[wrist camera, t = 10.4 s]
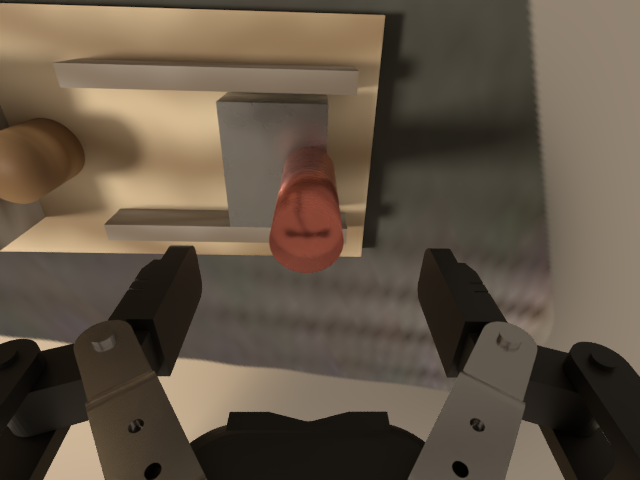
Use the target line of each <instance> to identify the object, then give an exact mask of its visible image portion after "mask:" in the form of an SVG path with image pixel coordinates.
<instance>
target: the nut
mask: <svg viewBox="0 0 640 480" xmlns="http://www.w3.org/2000/svg"><path fill="white" fill-rule="evenodd" d="M84 163H85V154H84V150H83V147H82V145H81V143H80V141H79V140H78V138H77V137H76V136H75V135H74V134H73V133H72V132H71V131H70V130H69V129H68V128H67V127H65V126H64V125H62V124H61V123H59V122H56V121H54V120H51V119H47V118H34V119H31V120H28V121H25V122H22V123H19V124H17V125H14V126H11V127H8V128H5V129H2V130H0V198H1V199H4V200H6V201H9V202H13V203H18V204H28V203H32V202H35V201H37V200H39V199H40V198H42V197H43V196H45V195H47V194H48V193H50V192H51V191H53V190H54V189H56V188H57V187H59V186H60V185H62V184H63V183H65V182H66V181H68V180H69V179H71V178H73V177H74V176H76V175H77V174H78V173H79V172H80V171H81V170H82V169H83V166H84Z"/></svg>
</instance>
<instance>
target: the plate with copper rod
mask: <svg viewBox="0 0 640 480" xmlns="http://www.w3.org/2000/svg"><path fill="white" fill-rule="evenodd" d="M216 107H217V116H218V124H219V133H220V142H221V151H222V159H223V168H224V177H225V186H226V194H227V203H228V212H229V221H230V227H271V231H270V236H269V246H270V249H271V252H272V254H273V256H274V257H275V259H276V260H277V261H278V262H279V263H280V264H282V265H283V266H284V267H286V268H288V269H290V270H293V271H296V272H301V273H312V272H317V271H321V270H323V269H326V268H327V267H329V266H331V265H332V264H333V263H334V262H335V261H336V260H337V259H338V258H339V256H340V254H341V252H342V249H343V245H344V238H343V230H342V222H341V215H340V207H339V200H338V192H337V185H336V177H335V170H334V165H333V162H332V160H331V158H330V157H329V155H328V154H327V132H328V99H327V95H316V94H277V93H239V92H227V93H226V94H225V95H223V96H222V97H221V98H220V99H219V100H217V101H216Z"/></svg>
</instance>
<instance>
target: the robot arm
mask: <svg viewBox="0 0 640 480" xmlns="http://www.w3.org/2000/svg"><path fill="white" fill-rule="evenodd" d="M201 293H202V280H201V275H200V270H199V265H198V259H197V254H196V250H195V247H194V246H190V245H171V246H169V247H168V249H167V251H166V252H165V254H164V256H163V257H162V259H161V260H153V261H152V262H150V263H149V264H148V265H146V266H145V267H144V268H142V269H141V271H140V272H139V274H138V275H137V277H136V278H135V281H133V283H132V284H131V286H130V288H129V290H128V291H127V292H126V294H125V295H124V297H123V298H122V300H121V301H120V303H119V304H118V306H117V307H116V309H115V310H114V312H113V313H112V315H111V316H110V318H109V319H108V321H104V322H101V323H98V324H95V325H93V326H91V327H90V328H88V329H87V330H85V331H84V332H83V333H82V334H81V335H80V336H79V337H78V338H77V340H76V341H75V343H74V344H70V345H66V346H61V347H57V348H53V349H48V350H45V351H41V350H40V348H39V347H38V345H37V343H36V342H34V341H32V340H29V339H16V340H12V341H8V342H5V343H2V344H0V480H43V479H44V477H45V475H46V473H47V471H48V469H49V467H50V465H51V463H52V461H53V459H54V457H55V456H56V454H57V451H58V450H59V447H60V446H61V444H62V442H63V440H64V438H65V436H66V434H67V432H68V430H69V428H70V426H71V425H74V424H77V423H81V422H84V421H88V420H89V422H90V426H91V430H92V433H93V437H94V440H95V445H96V448H97V452H98V456H99V460H100V463H101V467H102V471H103V474H104V478H105V480H505V478H506V474H507V470H508V467H509V463H510V460H511V456H512V453H513V449H514V445H515V442H516V438H517V435H518V431H519V427H520V424H521V420H525V421H528V422H532V423H535V424H538V425H539V427H540V429H541V431H542V433H543V435H544V437H545V439H546V441H547V444H548V446H549V448H550V450H551V452H552V454H553V456H554V458H555V460H556V462H557V464H558V466H559V468H560V470H561V473H562V475H563V477H564V479H565V480H640V377H639V375H638V374H637V373H636V372H635V371H634V369H633V368H632V367H631V366H630V364H629V363H628V362H627V361H626V360H625V359H624V358H623V357H622V356H620V355H619V354H617V353H616V352H614V351H613V350H611V349H609V348H607V347H605V346H602V345H599V344H596V343H592V342H579V343H576V344H574V345H573V346H572V348H571V350H570V352H569V353H566V352H562V351H558V350H553V349H550V348H545V347H542V346H538V345H536V342H535V341H534V339H533V338H532V337H531V336H530V335H529V334H528V333H527V332H526V331H525V330H523V329H521V328H520V327H518V326H516V325H513V324H510V323H508V322H507V321H506V319H505V318H504V316H503V314H502V313H501V311H500V310H499V308H498V306H497V305H496V303H495V302H494V300H493V298H492V297H491V295H490V294H489V293H488V290H487V289H486V287H485V285H483V282H482V281H481V279H480V277H479V276H478V274H477V273H476V272H475V271H474V270H473V269H472V268H470V267H469V266H468V265H466V264H465V263H458V262H457V260H456V258H455V257H454V255H453V253H452V252H451V250H450V249H429V248H428V249H426V251H425V254H424V258H423V263H422V268H421V272H420V277H419V282H418V298H419V302H420V304H421V307H422V310H423V313H424V315H425V318H426V321H427V324H428V326H429V329H430V332H431V335H432V337H433V340H434V343H435V345H436V348H437V351H438V354H439V356H440V359H441V362H442V365H443V367H444V370H445V373H446V376H447V377H457V379H456V381H455V383H454V385H453V387H452V390H451V392H450V394H449V396H448V398H447V400H446V402H445V404H444V406H443V408H442V410H441V412H440V414H439V416H438V418H437V420H436V422H435V424H434V427H433V428H432V431H431V432H430V434H429V437H428V439H427V441H426V443H425V442H424V441H423V440H421V439H420V438H418V437H417V436H415V435H414V434H411V433H410V432H408V431H406V430H404V429H402V428H399V427H396V426H392V425H389V420H388V414H387V412H346V413H342V414H338V415H334V416H330V417H327V418H323V419H319V420H315V421H309V422H308V421H302V420H298V419H295V418H290V417H286V416H282V415H278V414H275V413H271V412H230V413H229V418H228V423H227V425H225V426H222V427H219V428H216V429H214V430H211V431H209V432H207V433H205V434H203V435H201V436H200V437H198V438H197V439H195V440H194V441H192V442H191V443H189V441H188V439H187V437H186V435H185V433H184V431H183V429H182V427H181V425H180V423H179V421H178V418H177V416H176V414H175V412H174V410H173V408H172V406H171V404H170V402H169V400H168V398H167V396H166V394H165V392H164V389H163V387H162V385H161V383H160V382H159V379H158V377H157V376H170V375H171V373H172V370H173V368H174V365H175V362H176V360H177V357H178V355H179V352H180V350H181V347H182V344H183V342H184V339H185V337H186V334H187V332H188V329H189V326H190V324H191V321H192V319H193V316H194V314H195V311H196V308H197V306H198V303H199V301H200V298H201ZM600 428H601V429H600ZM605 436H606V437H605ZM610 444H611V445H610Z"/></svg>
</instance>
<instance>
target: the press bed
mask: <svg viewBox="0 0 640 480" xmlns="http://www.w3.org/2000/svg"><path fill="white" fill-rule="evenodd" d="M384 23H385V15H365V14H333V13H301V12H269V11H238V10H206V9H174V8H142V7H110V6H78V5H46V4H14V3H0V130H2V129H5V128H8V127H11V126H14V125H17V124H19V123H22V122H25V121H28V120H31V119H34V118H47V119H51V120H54V121H56V122H59V123H61V124H62V125H64V126H65V127H67V128H68V129H69V130H70V131H71V132H72V133H73V134H74V135H75V136H76V137H77V138H78V140H79V141H80V143H81V145H82V147H83V150H84V154H85V163H84V166H83V169H82V170H81V171H80V172H79V173H78V174H77V175H76V176H74V177H73V178H71V179H69V180H68V181H66V182H65V183H63V184H62V185H60V186H59V187H57V188H56V189H54V190H53V191H51V192H50V193H48V194H47V195H45V196H43V197H42V198H40V199H39V200H37V201H35V202H32V203H28V204H18V203H13V202H9V201H6V200H4V199H1V198H0V251H21V252H87V253H153V254H165V252H166V251H167V249H168V247H169V246H171V245H190V246H194V247H195V250H196V254H220V255H273V254H272V252H271V249H270V246H269V236H270V231H271V227H230V221H229V212H228V203H227V194H226V186H225V177H224V168H223V159H222V151H221V142H220V133H219V124H218V116H217V107H216V101H217V100H219V99H220V98H221V97H222V96H223V95H225V94H226V93H227V92H239V93H277V94H316V95H327V99H328V132H327V154H328V155H329V157H330V158H331V160H332V162H333V165H334V170H335V177H336V185H337V192H338V200H339V207H340V215H341V222H342V230H343V238H344V245H343V249H342V252H341V254H340V256H352V257H361V250H362V241H363V231H364V221H365V211H366V201H367V191H368V181H369V171H370V161H371V151H372V142H373V132H374V122H375V112H376V102H377V92H378V82H379V72H380V62H381V53H382V43H383V33H384Z"/></svg>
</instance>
